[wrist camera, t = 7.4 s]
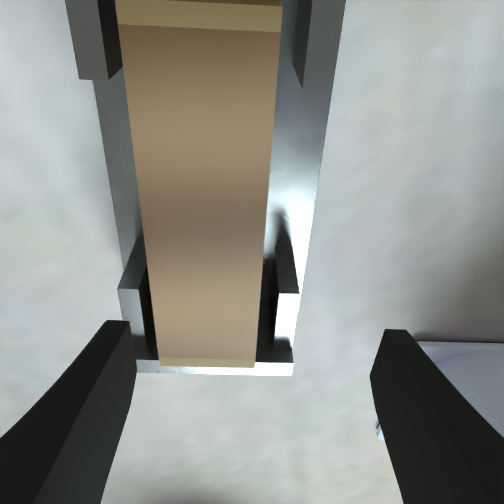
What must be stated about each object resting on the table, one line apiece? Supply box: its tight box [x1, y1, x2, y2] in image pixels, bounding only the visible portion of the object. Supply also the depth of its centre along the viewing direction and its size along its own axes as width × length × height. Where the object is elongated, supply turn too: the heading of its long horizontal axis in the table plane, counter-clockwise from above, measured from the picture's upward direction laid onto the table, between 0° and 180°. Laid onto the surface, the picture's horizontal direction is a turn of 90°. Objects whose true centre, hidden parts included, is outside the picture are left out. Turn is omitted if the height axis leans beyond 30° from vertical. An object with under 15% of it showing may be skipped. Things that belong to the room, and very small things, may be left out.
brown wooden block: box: [115, 0, 283, 368], centre depth 15 cm, size 12×4×5 cm, turn 177°
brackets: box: [65, 0, 346, 376], centre depth 15 cm, size 16×8×5 cm, turn 177°
